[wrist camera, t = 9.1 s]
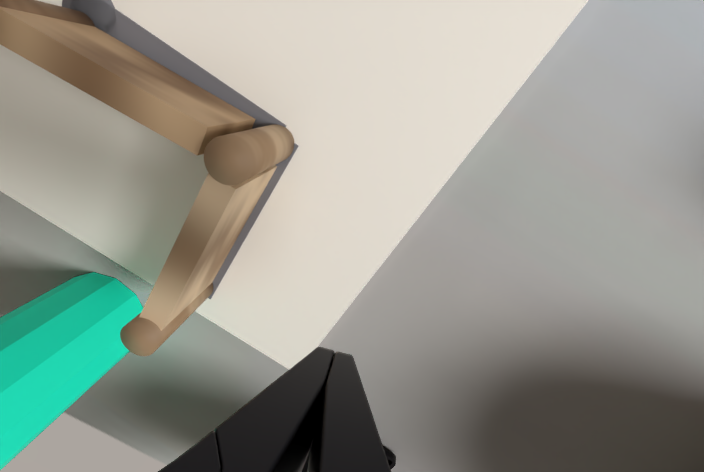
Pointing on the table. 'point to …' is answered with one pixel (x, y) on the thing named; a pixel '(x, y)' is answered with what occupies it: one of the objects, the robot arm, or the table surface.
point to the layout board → (288, 111)
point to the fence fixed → (209, 231)
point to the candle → (58, 353)
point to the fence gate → (117, 74)
